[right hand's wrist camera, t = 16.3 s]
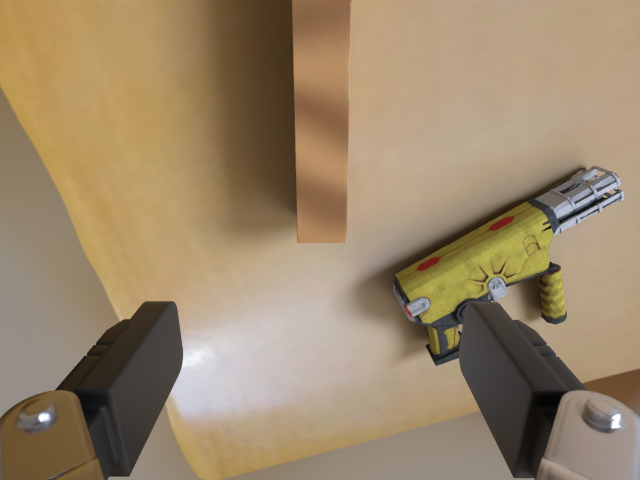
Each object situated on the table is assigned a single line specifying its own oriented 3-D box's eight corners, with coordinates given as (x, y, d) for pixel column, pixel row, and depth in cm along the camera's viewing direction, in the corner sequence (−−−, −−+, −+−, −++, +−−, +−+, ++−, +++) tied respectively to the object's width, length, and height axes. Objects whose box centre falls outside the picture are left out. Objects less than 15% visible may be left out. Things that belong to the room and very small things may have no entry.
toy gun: (653, 288, 44) (621, 172, 38) (450, 390, 48) (393, 297, 42) (620, 268, 48) (586, 161, 43) (436, 362, 52) (382, 275, 46)
